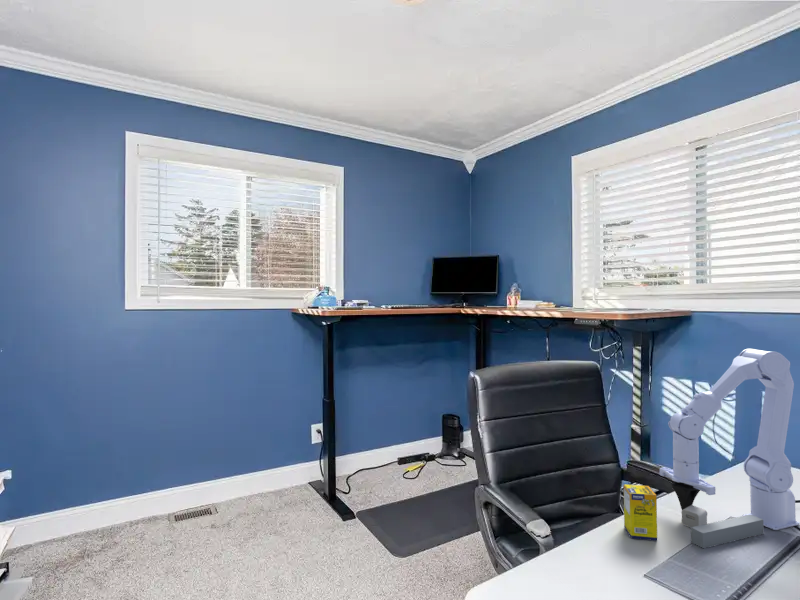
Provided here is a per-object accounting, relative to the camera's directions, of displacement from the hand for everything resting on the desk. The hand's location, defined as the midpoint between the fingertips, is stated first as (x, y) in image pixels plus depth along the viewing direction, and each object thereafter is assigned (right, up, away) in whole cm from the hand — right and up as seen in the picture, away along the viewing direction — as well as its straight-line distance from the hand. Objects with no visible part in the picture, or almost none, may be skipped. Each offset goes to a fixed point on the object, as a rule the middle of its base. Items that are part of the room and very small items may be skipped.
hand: (686, 512), depth 120 cm
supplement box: (-16, -2, -8) cm, 18 cm away
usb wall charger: (+1, -2, -3) cm, 4 cm away
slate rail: (+4, -2, -10) cm, 11 cm away
